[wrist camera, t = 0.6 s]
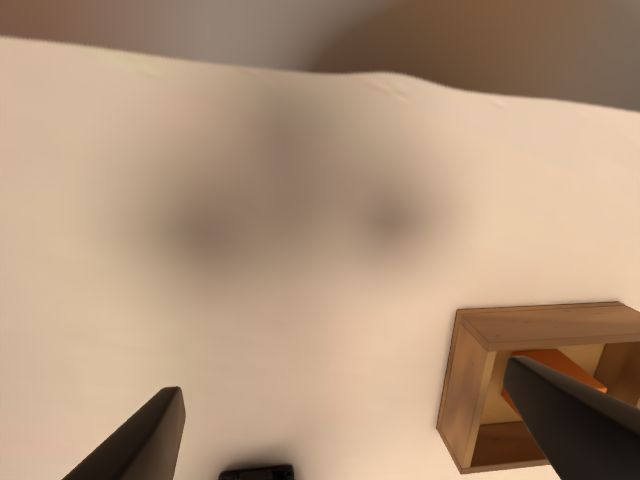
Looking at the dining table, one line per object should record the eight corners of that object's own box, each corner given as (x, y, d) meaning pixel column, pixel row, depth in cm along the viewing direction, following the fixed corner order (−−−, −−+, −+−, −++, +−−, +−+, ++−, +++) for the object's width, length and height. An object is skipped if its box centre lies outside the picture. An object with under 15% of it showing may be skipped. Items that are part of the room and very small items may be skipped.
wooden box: (578, 415, 31) (622, 457, 27) (436, 428, 29) (460, 475, 25) (619, 301, 27) (677, 331, 23) (456, 309, 25) (489, 342, 21)
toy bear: (544, 391, 28) (633, 480, 21) (500, 395, 28) (576, 486, 21) (557, 348, 27) (658, 427, 20) (511, 351, 26) (597, 434, 19)
